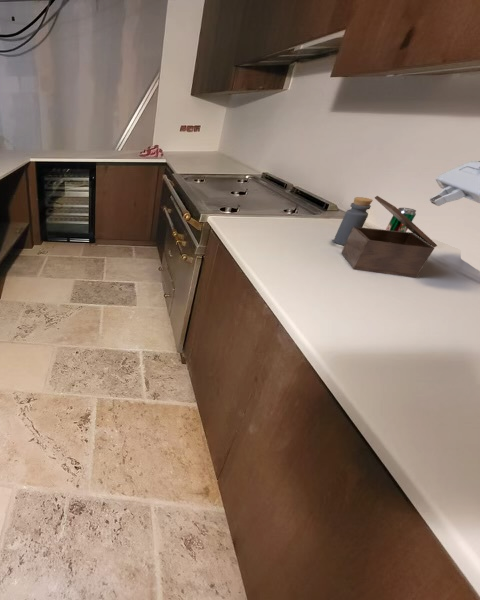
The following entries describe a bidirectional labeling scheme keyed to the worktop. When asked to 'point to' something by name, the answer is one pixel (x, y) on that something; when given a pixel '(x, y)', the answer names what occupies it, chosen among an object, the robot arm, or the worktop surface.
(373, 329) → the worktop surface
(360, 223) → the bottle
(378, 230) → the brown wooden box
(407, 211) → the soda can
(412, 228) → the lid
